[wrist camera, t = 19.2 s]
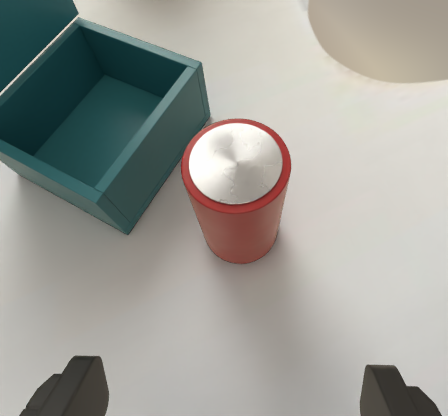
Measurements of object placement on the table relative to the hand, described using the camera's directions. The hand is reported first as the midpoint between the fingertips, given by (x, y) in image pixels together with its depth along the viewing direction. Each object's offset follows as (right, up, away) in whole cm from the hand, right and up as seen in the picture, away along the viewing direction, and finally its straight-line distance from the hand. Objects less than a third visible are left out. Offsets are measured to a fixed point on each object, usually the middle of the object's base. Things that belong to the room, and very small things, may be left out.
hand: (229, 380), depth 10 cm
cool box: (-11, +12, +24) cm, 29 cm away
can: (+1, +4, +19) cm, 20 cm away
